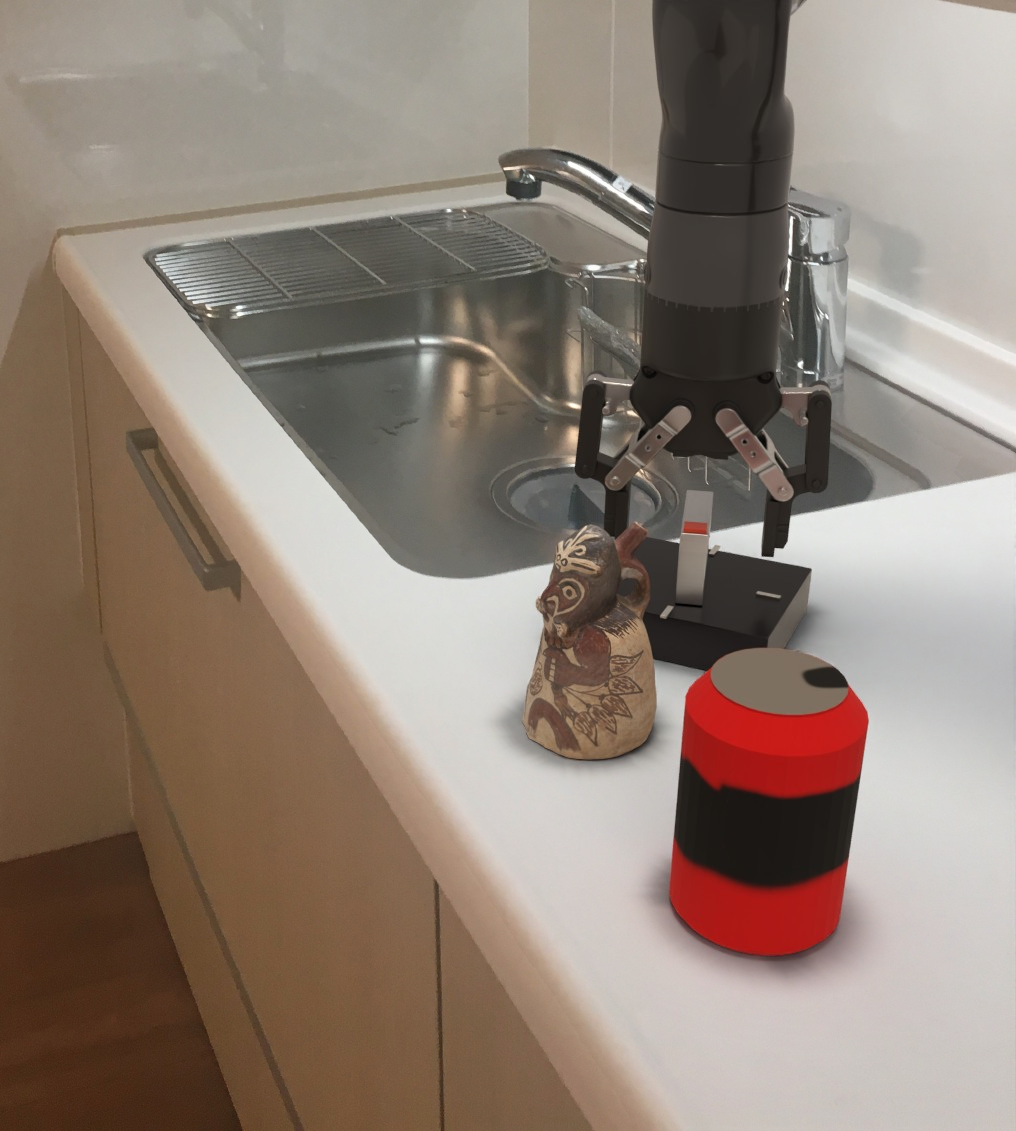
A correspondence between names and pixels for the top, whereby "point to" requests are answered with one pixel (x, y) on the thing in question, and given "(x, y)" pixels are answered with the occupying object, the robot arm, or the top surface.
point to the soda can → (766, 800)
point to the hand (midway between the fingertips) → (692, 546)
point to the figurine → (593, 650)
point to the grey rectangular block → (694, 547)
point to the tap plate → (719, 604)
